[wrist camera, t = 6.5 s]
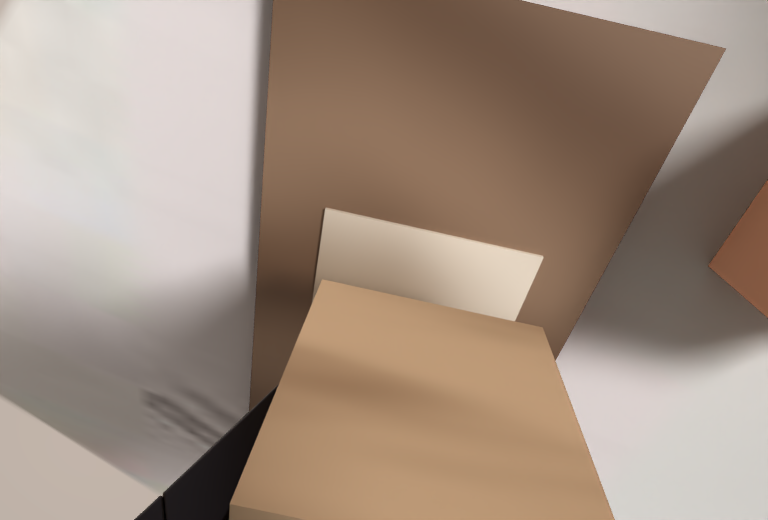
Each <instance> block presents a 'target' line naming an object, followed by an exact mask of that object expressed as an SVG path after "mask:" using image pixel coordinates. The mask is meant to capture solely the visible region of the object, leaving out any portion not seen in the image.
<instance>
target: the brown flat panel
mask: <svg viewBox="0 0 768 520" xmlns="http://www.w3.org/2000/svg"><path fill="white" fill-rule="evenodd" d="M725 50H726V48H722V47H717V46H713V45H709V44H705V43H700V42H696V41H692V40H688V39H683V38H679V37H675V36H671V35H666V34H662V33H658V32H654V31H649V30H645V29H641V28H637V27H632V26H628V25H624V24H620V23H615V22H611V21H607V20H603V19H598V18H594V17H590V16H586V15H581V14H577V13H573V12H569V11H564V10H560V9H556V8H552V7H547V6H543V5H539V4H535V3H530V2H526V1H522V0H273V10H272V27H271V45H270V62H269V79H268V96H267V113H266V130H265V148H264V165H263V182H262V199H261V216H260V233H259V250H258V268H257V285H256V302H255V319H254V336H253V353H252V370H251V388H250V405H249V411H250V410H252V409H253V408H254V407H255V406H256V405H257V404H258V403H259V402H260V401H261V400H262V399H263V398H264V397H265V396H266V395H267V394H269V393H270V392H271V391H272V390H273V389H274V388H275V387H276V386H277V385H278V384H279V383H280V380H281V378H282V376H283V373H284V371H285V368H286V366H287V363H288V361H289V358H290V356H291V354H292V351H293V349H294V346H295V344H296V341H297V339H298V337H299V334H300V332H301V329H302V327H303V324H304V322H305V320H306V317H307V315H308V312H309V310H310V307H311V305H312V303H313V300H314V298H315V295H316V293H317V290H318V288H319V286H320V283H321V281H322V279H323V280H328V281H333V282H337V283H342V284H346V285H351V286H355V287H360V288H365V289H369V290H374V291H378V292H383V293H387V294H392V295H397V296H401V297H406V298H410V299H415V300H419V301H424V302H429V303H433V304H438V305H442V306H447V307H451V308H456V309H461V310H465V311H470V312H474V313H479V314H483V315H488V316H493V317H497V318H502V319H506V320H511V321H515V322H520V323H525V324H529V325H534V326H538V327H543V330H544V332H545V335H546V338H547V340H548V343H549V346H550V348H551V351H552V354H553V356H554V359H555V360H556V359H557V357H558V355H559V353H560V351H561V350H562V348H563V346H564V344H565V342H566V340H567V339H568V337H569V335H570V333H571V331H572V329H573V328H574V326H575V324H576V322H577V320H578V318H579V317H580V315H581V313H582V311H583V309H584V307H585V306H586V304H587V302H588V300H589V298H590V297H591V295H592V293H593V291H594V289H595V287H596V286H597V284H598V282H599V280H600V278H601V276H602V275H603V273H604V271H605V269H606V267H607V265H608V264H609V262H610V260H611V258H612V256H613V254H614V253H615V251H616V249H617V247H618V245H619V243H620V242H621V240H622V238H623V236H624V234H625V233H626V231H627V229H628V227H629V225H630V223H631V222H632V220H633V218H634V216H635V214H636V212H637V211H638V209H639V207H640V205H641V203H642V201H643V200H644V198H645V196H646V194H647V192H648V190H649V189H650V187H651V185H652V183H653V181H654V180H655V178H656V176H657V174H658V172H659V170H660V169H661V167H662V165H663V163H664V161H665V159H666V158H667V156H668V154H669V152H670V150H671V148H672V147H673V145H674V143H675V141H676V139H677V137H678V136H679V134H680V132H681V130H682V128H683V127H684V125H685V123H686V121H687V119H688V117H689V116H690V114H691V112H692V110H693V108H694V106H695V105H696V103H697V101H698V99H699V97H700V95H701V94H702V92H703V90H704V88H705V86H706V84H707V83H708V81H709V79H710V77H711V75H712V73H713V72H714V70H715V68H716V66H717V64H718V63H719V61H720V59H721V57H722V55H723V53H724V52H725Z"/></svg>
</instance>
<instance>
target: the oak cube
mask: <svg viewBox="0 0 768 520" xmlns="http://www.w3.org/2000/svg"><path fill="white" fill-rule="evenodd" d="M229 520H615V519H614V516H613V514H612V511H611V508H610V506H609V503H608V500H607V498H606V495H605V492H604V490H603V487H602V484H601V482H600V479H599V476H598V474H597V471H596V468H595V466H594V463H593V460H592V458H591V455H590V452H589V450H588V447H587V444H586V442H585V439H584V436H583V434H582V431H581V428H580V426H579V423H578V420H577V418H576V415H575V412H574V410H573V407H572V404H571V402H570V399H569V396H568V394H567V391H566V388H565V386H564V383H563V380H562V378H561V375H560V372H559V370H558V367H557V364H556V362H555V359H554V356H553V354H552V351H551V348H550V346H549V343H548V340H547V338H546V335H545V332H544V330H543V327H538V326H534V325H529V324H525V323H520V322H515V321H511V320H506V319H502V318H497V317H493V316H488V315H483V314H479V313H474V312H470V311H465V310H461V309H456V308H451V307H447V306H442V305H438V304H433V303H429V302H424V301H419V300H415V299H410V298H406V297H401V296H397V295H392V294H387V293H383V292H378V291H374V290H369V289H365V288H360V287H355V286H351V285H346V284H342V283H337V282H333V281H328V280H323V279H322V281H321V283H320V286H319V288H318V290H317V293H316V295H315V298H314V300H313V303H312V305H311V307H310V310H309V312H308V315H307V317H306V320H305V322H304V324H303V327H302V329H301V332H300V334H299V337H298V339H297V341H296V344H295V346H294V349H293V351H292V354H291V356H290V358H289V361H288V363H287V366H286V368H285V371H284V373H283V376H282V378H281V380H280V383H279V385H278V388H277V390H276V393H275V395H274V397H273V400H272V402H271V405H270V407H269V410H268V412H267V414H266V417H265V419H264V422H263V424H262V427H261V429H260V431H259V434H258V436H257V439H256V441H255V444H254V446H253V448H252V451H251V453H250V456H249V458H248V461H247V463H246V466H245V468H244V470H243V473H242V475H241V478H240V480H239V483H238V485H237V487H236V490H235V492H234V495H233V497H232V500H231V502H230V511H229Z"/></svg>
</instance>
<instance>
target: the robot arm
mask: <svg viewBox="0 0 768 520" xmlns="http://www.w3.org/2000/svg"><path fill="white" fill-rule="evenodd" d="M278 385H279V384H278ZM278 385H277V386H276V387H275V388H274V389H273V390H272V391H271V392H270V393H269V394H267V395H266V396H265V397H264V398H263V399H262V400H261V401H260V402H259V403H258V404H257V405H256V406H255V407H254V408H253V409H252V410H250V411H249V412H248V413H247V414H246V415H245V416H244V417H243V418H242V419H241V420H240V421H239V422H238V423H237V424H236V425H235V426H234V427H232V428H231V429H230V430H229V431H228V432H227V433H226V434H225V435H224V436H223V437H222V438H221V439H220V440H219V441H218V442H217V443H215V444H214V445H213V446H212V447H211V448H210V449H209V450H208V451H207V452H206V453H205V454H204V455H203V456H202V457H201V458H200V459H199V460H197V461H196V462H195V463H194V464H193V465H192V466H191V467H190V468H189V469H188V470H187V471H186V472H185V473H184V474H183V475H182V476H180V477H179V478H178V479H177V480H176V481H175V482H174V483H173V484H172V485H171V486H170V487H169V488H168V489H167V490H166V491H165V492H164V493H163V496H159V497H158V498H157V499H156V500H155V501H154V502H153V503H152V504H151V505H150V506H148V507H147V509H145V510H144V511H143V512H142V513H141V514H140V515H139V516H138V517H137V518H136V519H134V520H229V511H230V502H231V500H232V497H233V495H234V492H235V490H236V487H237V485H238V483H239V480H240V478H241V475H242V473H243V470H244V468H245V466H246V463H247V461H248V458H249V456H250V453H251V451H252V448H253V446H254V444H255V441H256V439H257V436H258V434H259V431H260V429H261V427H262V424H263V422H264V419H265V417H266V414H267V412H268V410H269V407H270V405H271V402H272V400H273V397H274V395H275V393H276V390H277V388H278Z"/></svg>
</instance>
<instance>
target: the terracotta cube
mask: <svg viewBox="0 0 768 520" xmlns="http://www.w3.org/2000/svg"><path fill="white" fill-rule="evenodd" d="M708 266H709V267H710V268H711V269H712V270H713V271H714V272H716V273H717V274H718V275H719V276H720V277H721V278H722V279H724V280H725V281H726V282H727V283H728V284H729V285H730V286H732V287H733V288H734V289H735V290H736V291H737V292H738V293H740V294H741V295H742V296H743V297H744V298H745V299H746V300H748V301H749V302H750V303H751V304H752V305H753V306H755V307H756V308H757V309H758V310H759V311H760V312H761V313H763V314H764V315H765V316H766V317H767V318H768V180H767V181H766V183H765V184H764V185H763V187H762V188H761V190H760V191H759V193H758V194H757V196H756V197H755V199H754V200H753V201H752V203H751V204H750V206H749V207H748V209H747V210H746V212H745V213H744V214H743V216H742V217H741V219H740V220H739V222H738V223H737V225H736V226H735V228H734V229H733V230H732V232H731V233H730V235H729V236H728V238H727V239H726V241H725V242H724V244H723V245H722V246H721V248H720V249H719V251H718V252H717V254H716V255H715V257H714V258H713V259H712V261H711V262H710V264H709V265H708Z"/></svg>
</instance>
